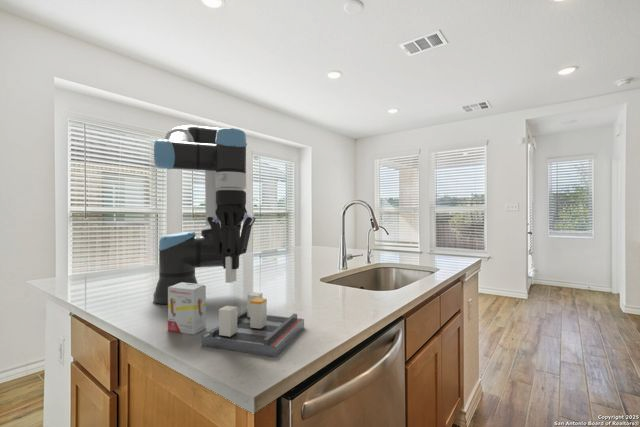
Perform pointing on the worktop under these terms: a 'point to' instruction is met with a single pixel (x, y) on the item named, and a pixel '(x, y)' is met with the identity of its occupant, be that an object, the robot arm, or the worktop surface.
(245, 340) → the panel
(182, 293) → the ink box
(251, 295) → the block
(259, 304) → the block
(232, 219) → the robot arm
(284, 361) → the worktop surface
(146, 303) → the worktop surface
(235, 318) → the block
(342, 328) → the worktop surface
